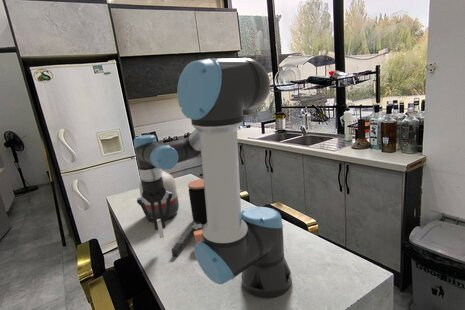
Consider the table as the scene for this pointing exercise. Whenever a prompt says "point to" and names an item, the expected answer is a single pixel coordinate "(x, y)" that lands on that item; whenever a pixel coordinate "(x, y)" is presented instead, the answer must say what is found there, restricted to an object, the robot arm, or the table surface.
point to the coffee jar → (198, 201)
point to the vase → (170, 187)
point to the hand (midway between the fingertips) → (161, 236)
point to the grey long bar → (186, 238)
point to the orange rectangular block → (198, 236)
